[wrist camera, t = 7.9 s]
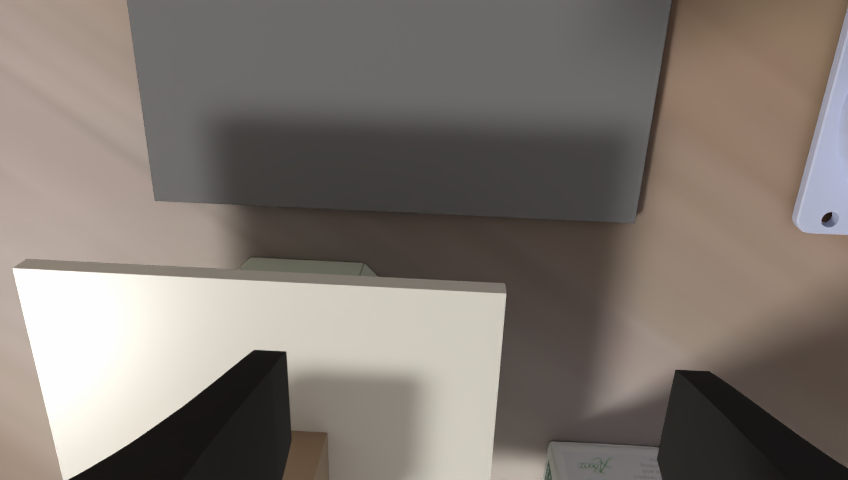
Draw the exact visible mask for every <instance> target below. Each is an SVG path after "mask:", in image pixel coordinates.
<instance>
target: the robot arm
mask: <svg viewBox="0 0 848 480" xmlns="http://www.w3.org/2000/svg"><path fill="white" fill-rule="evenodd" d="M829 212H832V217H831V219H830V220H829V221H827V222H825V223H821V219H822V217H823V216H824V215H825V214H827V213H829ZM792 220H793V223H794V225H795V226H796V227H798V228H799V229H800V230H802V231H803V232H807V233H818V234H840V235H848V8H847V12H846V15H845V19H844V23H843V27H842V30H841V34H840V38H839V42H838V45H837V49H836V53H835V57H834V61H833V64H832V68H831V72H830V76H829V79H828V83H827V87H826V91H825V94H824V98H823V102H822V106H821V109H820V113H819V117H818V121H817V125H816V128H815V132H814V136H813V140H812V143H811V147H810V151H809V155H808V158H807V162H806V166H805V170H804V174H803V177H802V181H801V185H800V189H799V192H798V196H797V200H796V204H795V207H794V211H793V217H792ZM291 442H292V435H291V419H290V402H289V386H288V369H287V353H286V351H268V350H253V351H252V352H251V353H249V354H248V355H247V356H245V357H244V358H243V359H242V360H240V361H239V362H238V363H237V364H235V365H234V366H233V367H232V368H231V369H229V370H228V371H227V372H226V373H224V374H223V375H222V376H221V377H220V378H218V379H217V380H216V381H215V382H213V383H212V384H211V385H209V386H208V387H207V388H206V389H204V390H203V391H202V392H201V393H199V394H198V395H197V396H195V397H194V398H193V399H192V400H190V401H189V402H188V403H186V404H185V405H184V406H183V407H181V408H180V409H178V410H177V411H176V412H174V413H173V414H171V415H170V416H169V417H167V418H166V419H164V420H163V421H161V422H160V423H159V424H157V425H156V426H154V427H153V428H152V429H150V430H149V431H147V432H146V433H144V434H143V435H142V436H140V437H139V438H137V439H136V440H134V441H133V442H131V443H130V444H128V445H127V446H125V447H123V448H122V449H120V450H119V451H117V452H115V453H114V454H112V455H110V456H109V457H107V458H105V459H104V460H102V461H100V462H98V463H97V464H95V465H93V466H92V467H90V468H88V469H86V470H85V471H83V472H81V473H79V474H78V475H76V476H74V477H72V478H70V479H68V480H282V478H283V475H284V471H285V467H286V463H287V458H288V454H289V450H290V446H291ZM657 462H658V466H659V469H660V473H661V477H662V480H848V469H847V468H846V467H844V466H843V465H841V464H840V463H838V462H837V461H835V460H834V459H832V458H831V457H829V456H828V455H826V454H825V453H823V452H822V451H820V450H819V449H817V448H816V447H815V446H813V445H812V444H810V443H809V442H807V441H806V440H805V439H803V438H802V437H800V436H799V435H798V434H796V433H795V432H793V431H792V430H791V429H789V428H788V427H786V426H785V425H784V424H782V423H781V422H780V421H778V420H777V419H775V418H774V417H773V416H771V415H770V414H769V413H767V412H766V411H765V410H763V409H762V408H760V407H759V406H758V405H756V404H755V403H754V402H752V401H751V400H750V399H748V398H747V397H746V396H744V395H743V394H741V393H740V392H739V391H737V390H736V389H735V388H733V387H732V386H730V385H729V384H728V383H726V382H725V381H723V380H722V379H720V378H719V377H717V376H716V375H714V374H712V373H711V372H709V371H689V370H675V374H674V379H673V384H672V389H671V394H670V398H669V403H668V408H667V413H666V417H665V422H664V427H663V432H662V436H661V441H660V446H659V451H658V456H657Z"/></svg>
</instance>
